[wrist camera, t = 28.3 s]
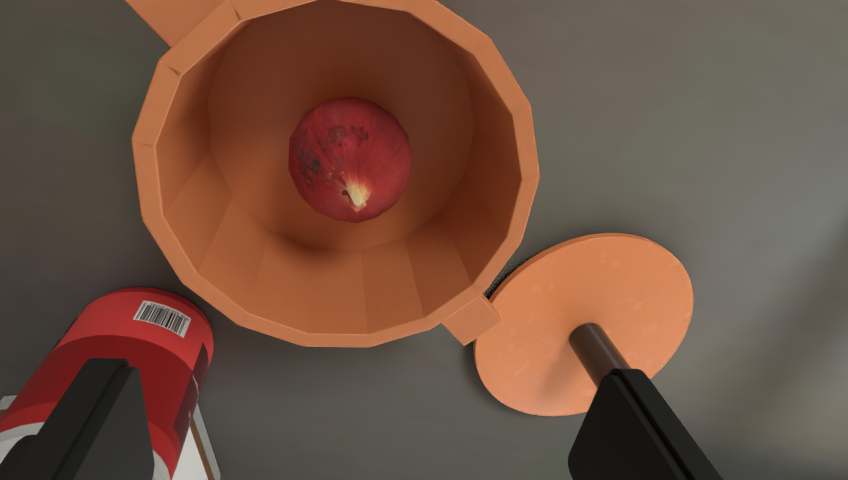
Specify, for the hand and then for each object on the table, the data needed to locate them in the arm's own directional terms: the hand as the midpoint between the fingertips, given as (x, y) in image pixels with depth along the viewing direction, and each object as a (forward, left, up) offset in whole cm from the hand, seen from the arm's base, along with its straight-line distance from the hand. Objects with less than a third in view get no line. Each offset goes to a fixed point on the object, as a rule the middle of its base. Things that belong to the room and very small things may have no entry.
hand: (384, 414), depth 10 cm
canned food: (+18, +2, -20) cm, 27 cm away
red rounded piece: (0, 0, -19) cm, 19 cm away
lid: (-3, +22, -19) cm, 29 cm away
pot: (0, 0, -20) cm, 20 cm away
